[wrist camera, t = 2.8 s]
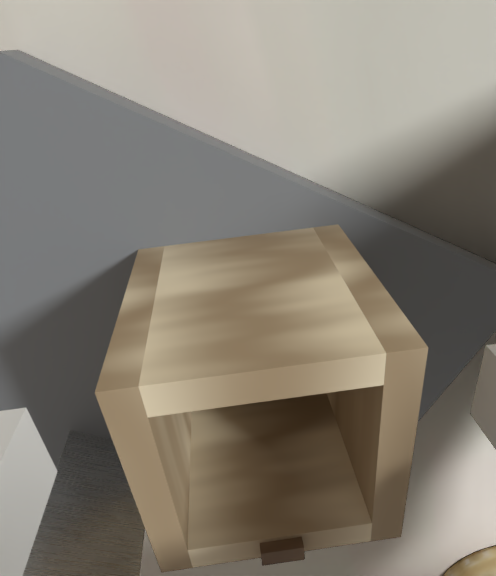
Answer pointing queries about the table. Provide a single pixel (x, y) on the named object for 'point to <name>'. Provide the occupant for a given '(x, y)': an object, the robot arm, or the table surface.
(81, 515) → the steel block
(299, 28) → the table surface
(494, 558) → the hand bell
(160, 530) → the hollow wooden cube frame
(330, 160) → the table surface
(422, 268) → the base board
